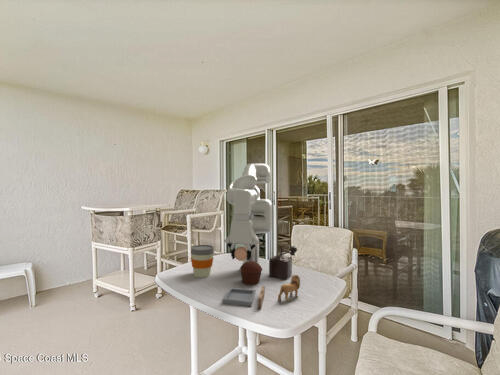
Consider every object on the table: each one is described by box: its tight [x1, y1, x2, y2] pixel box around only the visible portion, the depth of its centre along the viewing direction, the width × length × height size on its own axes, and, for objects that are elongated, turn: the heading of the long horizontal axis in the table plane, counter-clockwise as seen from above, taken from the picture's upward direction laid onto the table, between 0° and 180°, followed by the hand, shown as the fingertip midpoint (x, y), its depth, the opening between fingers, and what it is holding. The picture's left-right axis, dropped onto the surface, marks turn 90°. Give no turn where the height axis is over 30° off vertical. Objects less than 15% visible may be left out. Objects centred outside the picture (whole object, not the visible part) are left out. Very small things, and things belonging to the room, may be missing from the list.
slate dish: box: [222, 287, 257, 307], centre depth 105 cm, size 12×12×2 cm
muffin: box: [239, 261, 263, 286], centre depth 124 cm, size 12×11×10 cm
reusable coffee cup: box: [190, 244, 215, 279], centre depth 133 cm, size 13×13×15 cm
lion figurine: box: [277, 274, 301, 303], centre depth 106 cm, size 15×5×9 cm, turn 140°
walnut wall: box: [257, 285, 266, 310], centre depth 102 cm, size 13×1×4 cm, turn 171°
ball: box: [234, 246, 247, 262], centre depth 105 cm, size 6×6×6 cm
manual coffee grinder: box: [268, 245, 298, 280], centre depth 133 cm, size 16×11×18 cm
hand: (241, 258), depth 105 cm, fingers closed on ball, 5 cm apart
